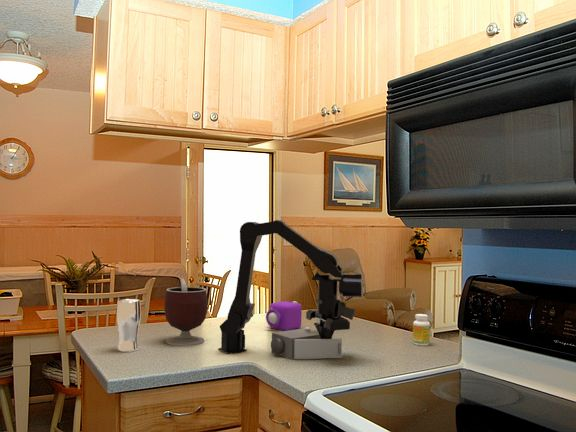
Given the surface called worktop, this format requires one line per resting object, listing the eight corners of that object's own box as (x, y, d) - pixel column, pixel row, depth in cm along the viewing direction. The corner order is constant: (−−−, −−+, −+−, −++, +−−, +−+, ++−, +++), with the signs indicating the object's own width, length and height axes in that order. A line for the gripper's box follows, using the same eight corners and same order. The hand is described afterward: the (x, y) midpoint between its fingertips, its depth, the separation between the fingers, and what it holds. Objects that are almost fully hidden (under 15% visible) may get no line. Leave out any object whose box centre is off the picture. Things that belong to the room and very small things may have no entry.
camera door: (294, 359, 161) (295, 340, 161) (293, 358, 162) (294, 339, 162) (341, 358, 163) (342, 339, 163) (340, 356, 165) (340, 338, 165)
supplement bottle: (424, 346, 183) (424, 316, 183) (409, 343, 186) (410, 314, 186) (432, 344, 187) (432, 315, 187) (418, 341, 190) (418, 313, 190)
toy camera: (260, 330, 204) (261, 303, 204) (278, 324, 216) (279, 298, 216) (287, 333, 199) (287, 305, 199) (303, 327, 211) (304, 301, 211)
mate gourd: (210, 345, 179) (212, 282, 179) (166, 347, 174) (168, 283, 174) (201, 335, 193) (202, 277, 194) (160, 337, 189) (161, 278, 189)
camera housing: (286, 360, 161) (286, 336, 161) (266, 353, 169) (266, 330, 169) (327, 353, 171) (328, 330, 171) (307, 346, 179) (307, 325, 179)
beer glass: (130, 353, 166) (131, 302, 166) (111, 351, 168) (112, 301, 168) (144, 348, 172) (145, 299, 172) (125, 346, 174) (126, 298, 175)
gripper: (366, 299, 160) (365, 353, 160) (338, 290, 177) (337, 339, 178) (331, 301, 156) (330, 356, 156) (305, 291, 173) (304, 341, 174)
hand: (326, 348), depth 166 cm, fingers closed
